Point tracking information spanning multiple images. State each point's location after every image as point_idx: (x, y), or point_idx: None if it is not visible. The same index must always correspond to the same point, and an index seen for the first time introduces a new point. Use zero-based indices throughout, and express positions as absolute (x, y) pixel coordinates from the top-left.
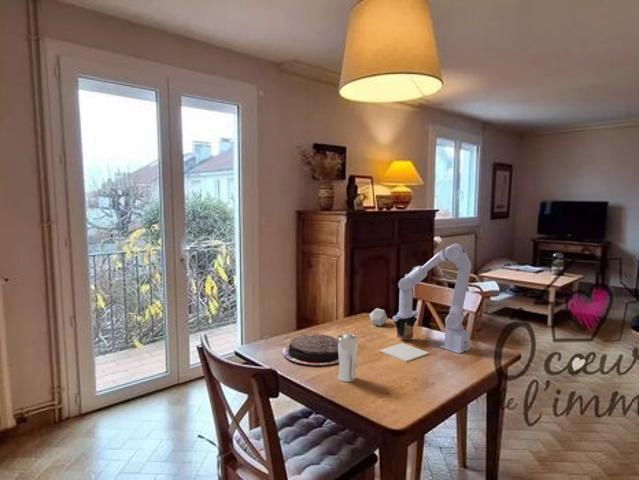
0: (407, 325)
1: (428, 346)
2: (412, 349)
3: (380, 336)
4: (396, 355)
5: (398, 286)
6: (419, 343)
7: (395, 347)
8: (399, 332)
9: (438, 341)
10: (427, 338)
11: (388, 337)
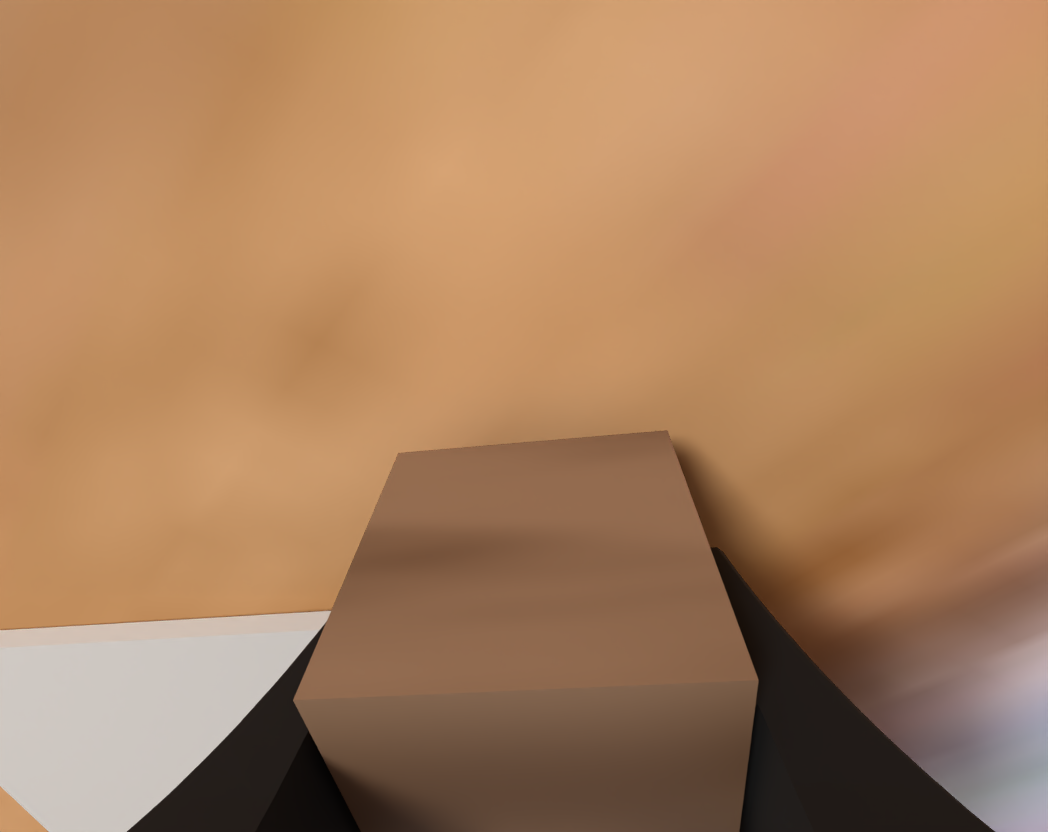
0: (689, 798)
1: None
2: None
3: (129, 4)
4: (53, 812)
5: None
6: None
7: (146, 688)
8: None
9: (937, 745)
10: (959, 621)
11: (317, 208)
